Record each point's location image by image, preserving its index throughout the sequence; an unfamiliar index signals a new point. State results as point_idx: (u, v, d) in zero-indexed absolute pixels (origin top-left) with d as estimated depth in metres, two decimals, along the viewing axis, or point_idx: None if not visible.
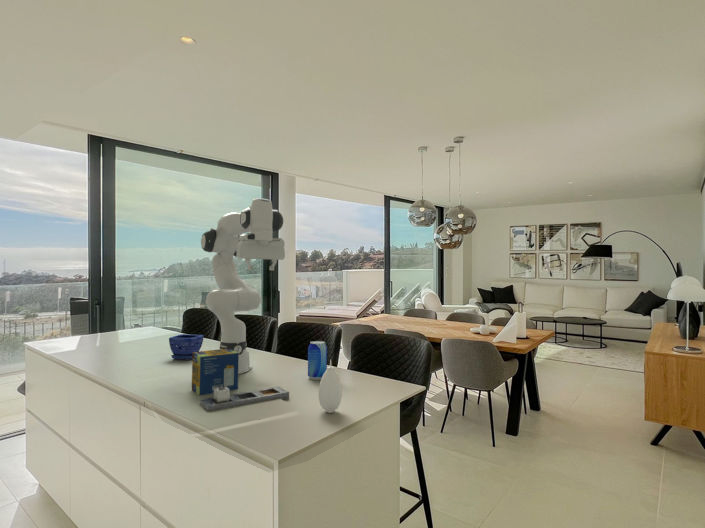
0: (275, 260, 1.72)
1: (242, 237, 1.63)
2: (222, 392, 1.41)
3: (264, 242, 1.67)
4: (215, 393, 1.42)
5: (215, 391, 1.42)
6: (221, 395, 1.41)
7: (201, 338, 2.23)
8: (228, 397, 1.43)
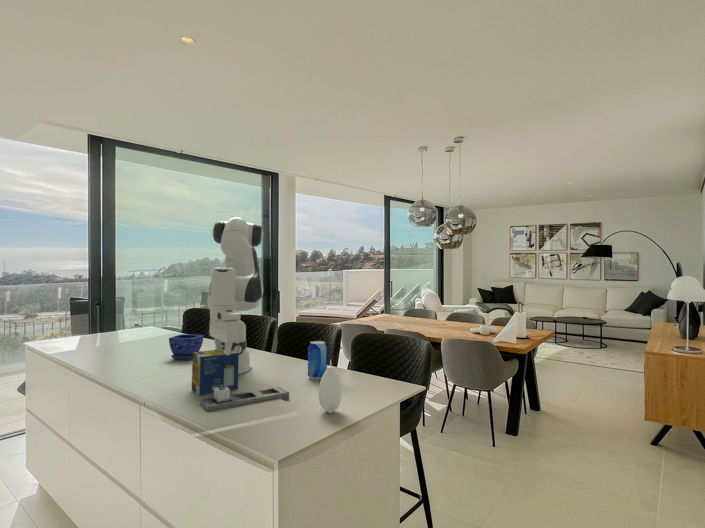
0: None
1: (235, 317, 1.37)
2: (222, 392, 1.41)
3: None
4: (215, 393, 1.42)
5: (215, 391, 1.42)
6: (221, 395, 1.41)
7: (201, 338, 2.23)
8: (228, 397, 1.43)
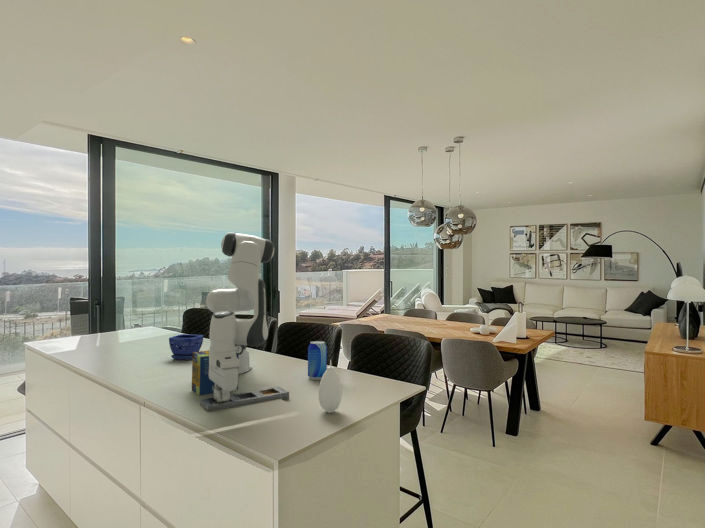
0: None
1: (234, 364, 1.37)
2: None
3: None
4: (215, 393, 1.42)
5: (215, 391, 1.42)
6: None
7: (201, 338, 2.23)
8: (228, 397, 1.43)
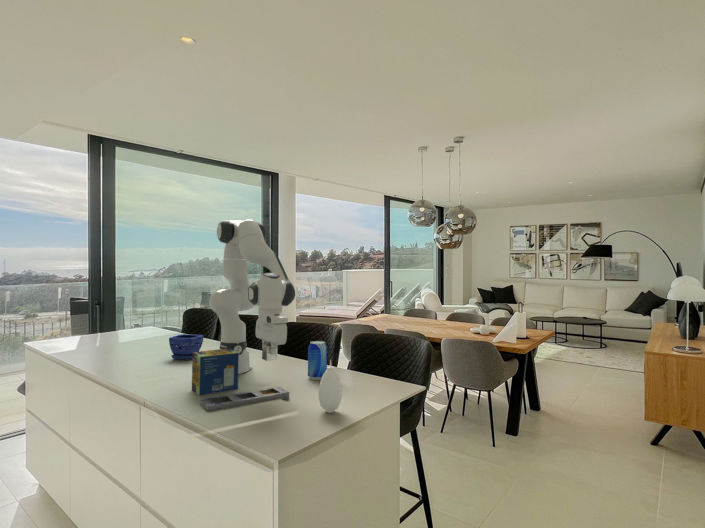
0: None
1: (283, 320, 1.48)
2: None
3: None
4: (264, 348, 1.53)
5: (264, 346, 1.53)
6: (269, 350, 1.52)
7: (201, 338, 2.23)
8: (276, 352, 1.53)
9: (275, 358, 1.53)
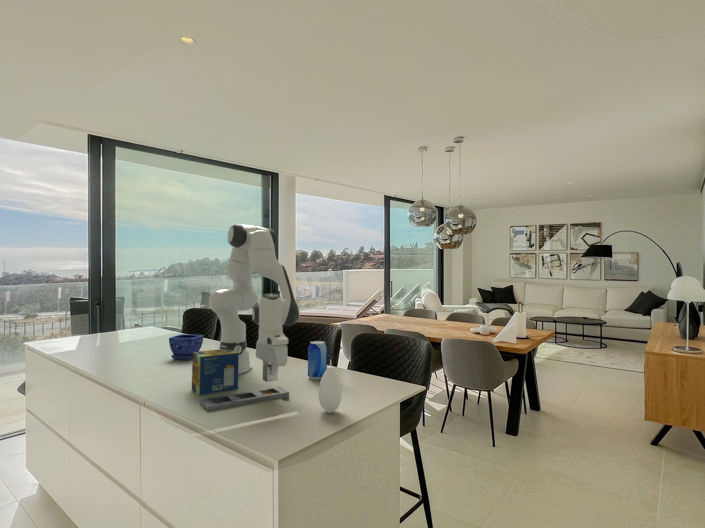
0: None
1: (284, 342, 1.48)
2: None
3: None
4: (264, 369, 1.53)
5: (264, 367, 1.53)
6: (270, 371, 1.52)
7: (201, 338, 2.23)
8: None
9: (276, 379, 1.53)
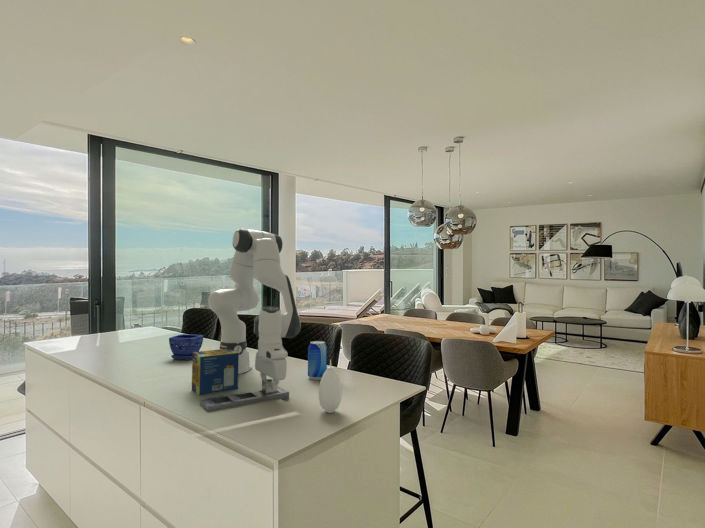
0: None
1: (283, 355, 1.48)
2: (271, 384, 1.52)
3: None
4: (263, 384, 1.53)
5: (263, 383, 1.53)
6: (269, 386, 1.52)
7: (201, 338, 2.23)
8: None
9: None
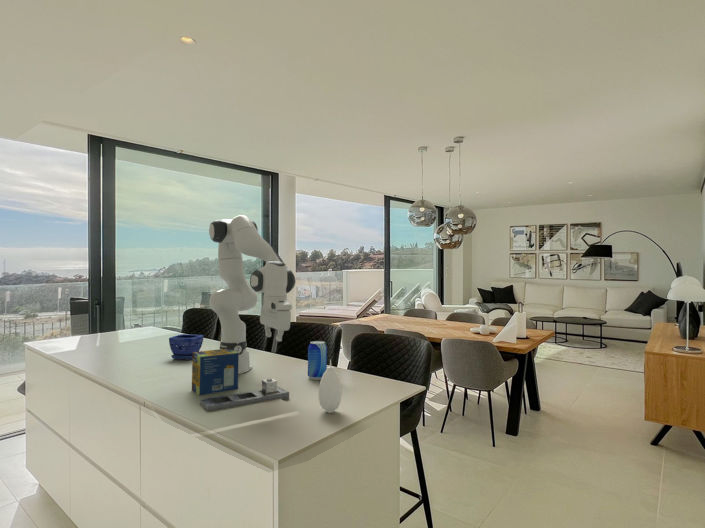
0: None
1: (287, 307, 1.51)
2: (271, 384, 1.52)
3: None
4: (263, 384, 1.53)
5: (263, 383, 1.53)
6: (269, 386, 1.52)
7: (201, 338, 2.23)
8: (275, 388, 1.53)
9: None
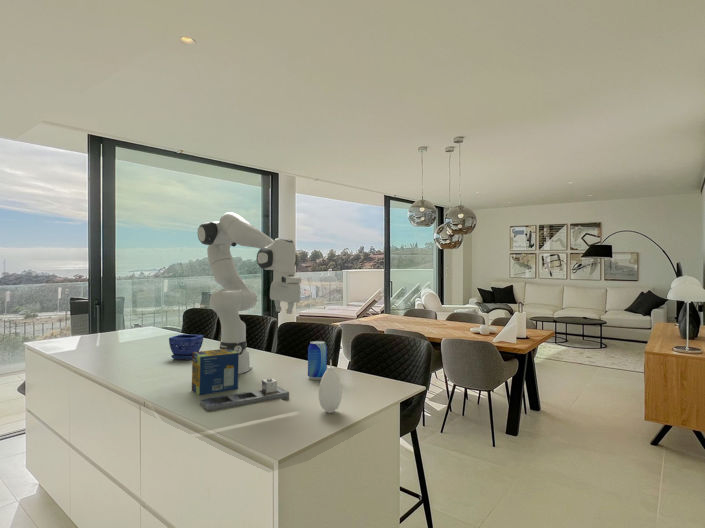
0: None
1: (297, 280, 1.59)
2: (271, 384, 1.52)
3: None
4: (263, 384, 1.53)
5: (263, 383, 1.53)
6: (269, 386, 1.52)
7: (201, 338, 2.23)
8: (275, 388, 1.53)
9: None
